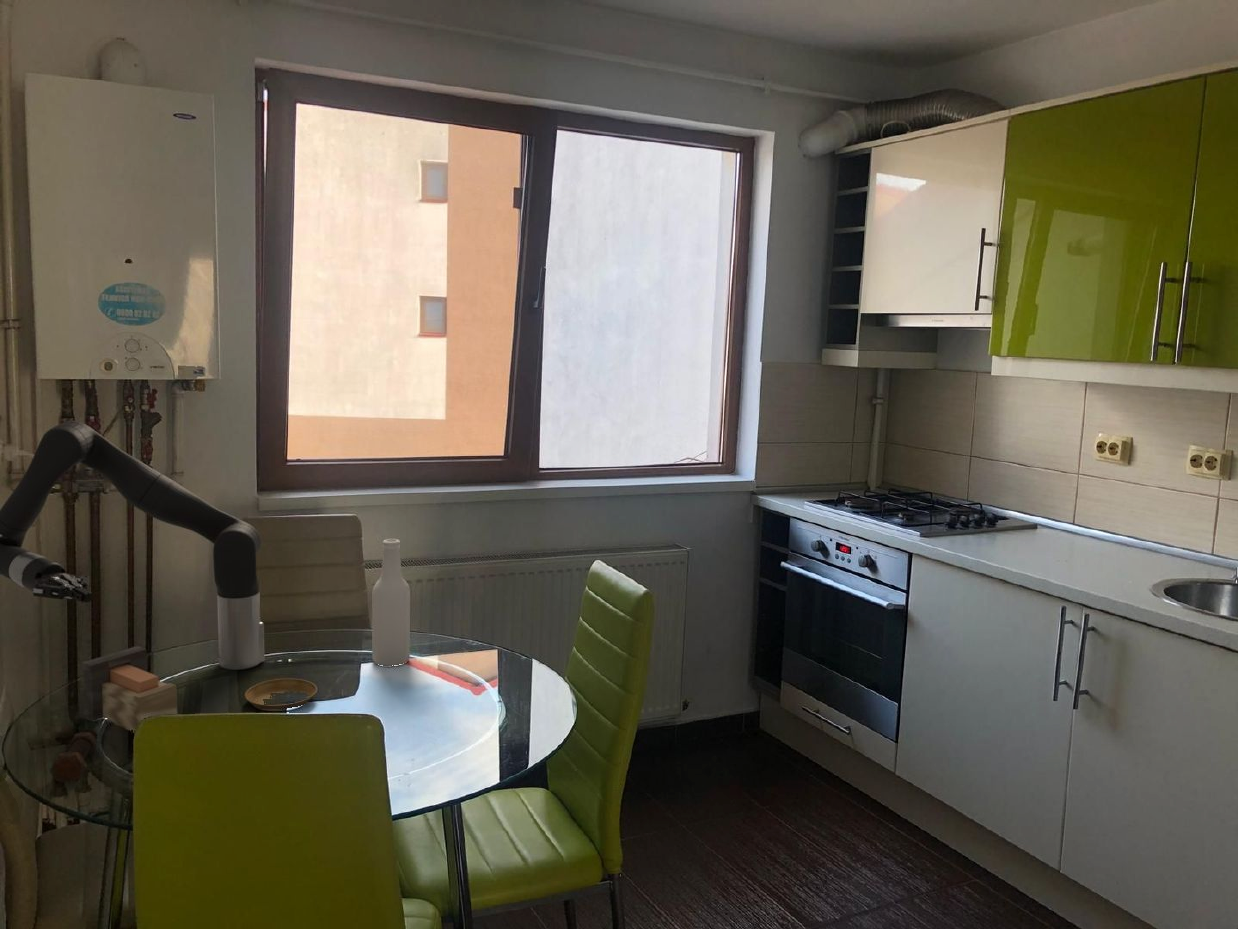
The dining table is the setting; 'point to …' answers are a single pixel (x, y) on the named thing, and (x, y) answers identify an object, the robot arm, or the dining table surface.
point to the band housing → (124, 691)
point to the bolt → (74, 757)
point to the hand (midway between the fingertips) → (88, 598)
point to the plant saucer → (279, 686)
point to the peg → (132, 678)
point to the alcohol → (391, 610)
